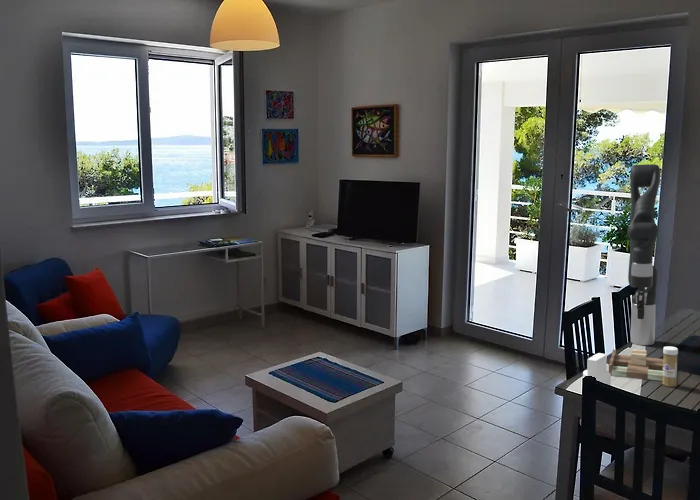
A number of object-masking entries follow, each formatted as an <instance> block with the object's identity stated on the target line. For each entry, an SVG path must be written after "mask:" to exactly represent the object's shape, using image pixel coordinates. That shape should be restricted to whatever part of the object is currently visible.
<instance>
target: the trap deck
mask: <svg viewBox="0 0 700 500" xmlns="http://www.w3.org/2000/svg"><path fill="white" fill-rule="evenodd" d="M663 359H664V358H655V357H648V356H646V366H644V365H634V364H631V355H625V354H617V349H613V350H612V352H611V356H610V359H609V363H608V372H609V373H610V374H611V376H615V377H623V378H634V379H644V380H650V381H659V382H663Z"/></svg>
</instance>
